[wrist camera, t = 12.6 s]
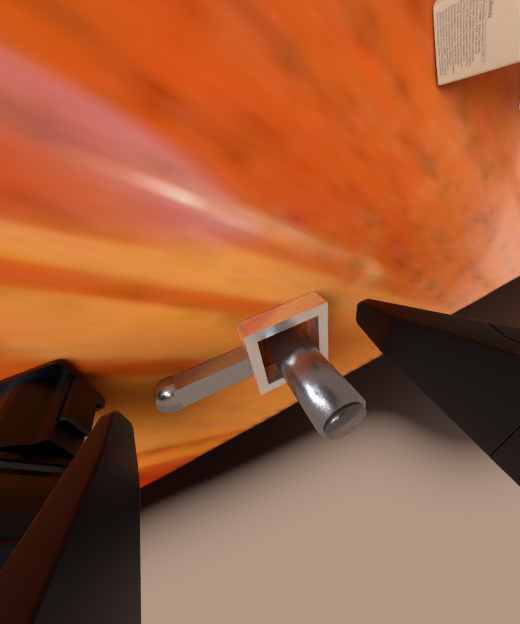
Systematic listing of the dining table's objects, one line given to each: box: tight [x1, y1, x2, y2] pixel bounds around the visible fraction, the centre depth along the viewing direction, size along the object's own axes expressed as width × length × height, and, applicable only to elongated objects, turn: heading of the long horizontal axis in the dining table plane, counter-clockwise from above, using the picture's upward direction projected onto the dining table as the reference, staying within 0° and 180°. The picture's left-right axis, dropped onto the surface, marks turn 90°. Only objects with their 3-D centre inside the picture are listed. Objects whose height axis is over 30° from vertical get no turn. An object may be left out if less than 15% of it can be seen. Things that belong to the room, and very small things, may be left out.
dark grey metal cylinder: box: [264, 325, 366, 439], centre depth 23 cm, size 5×5×12 cm
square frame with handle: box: [155, 292, 328, 413], centre depth 25 cm, size 20×9×2 cm, turn 102°
